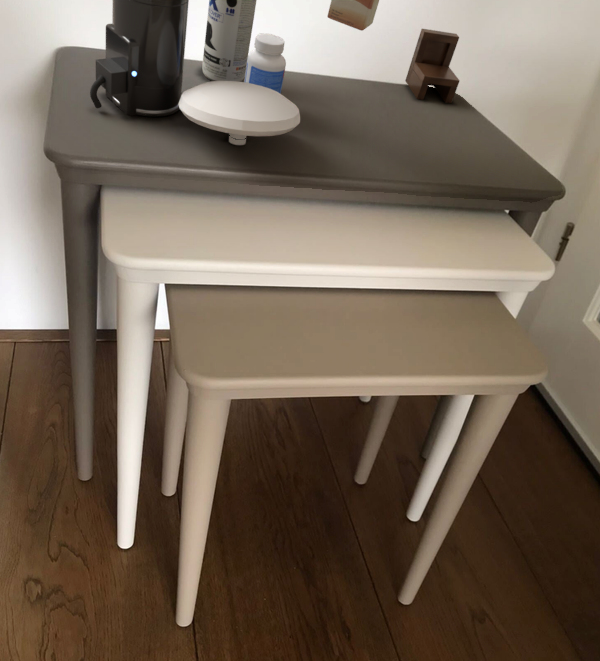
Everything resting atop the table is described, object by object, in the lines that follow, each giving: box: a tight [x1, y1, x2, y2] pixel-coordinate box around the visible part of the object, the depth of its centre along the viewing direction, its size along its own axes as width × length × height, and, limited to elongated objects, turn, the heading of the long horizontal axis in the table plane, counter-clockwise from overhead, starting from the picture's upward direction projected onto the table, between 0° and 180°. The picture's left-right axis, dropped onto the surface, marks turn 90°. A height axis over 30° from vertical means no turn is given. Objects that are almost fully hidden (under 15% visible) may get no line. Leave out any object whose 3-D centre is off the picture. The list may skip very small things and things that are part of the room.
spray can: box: [201, 0, 257, 82], centre depth 96 cm, size 7×7×20 cm
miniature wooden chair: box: [404, 28, 460, 104], centre depth 112 cm, size 6×7×9 cm
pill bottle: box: [243, 32, 287, 95], centre depth 94 cm, size 6×5×10 cm
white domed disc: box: [178, 80, 301, 146], centre depth 86 cm, size 16×16×7 cm
